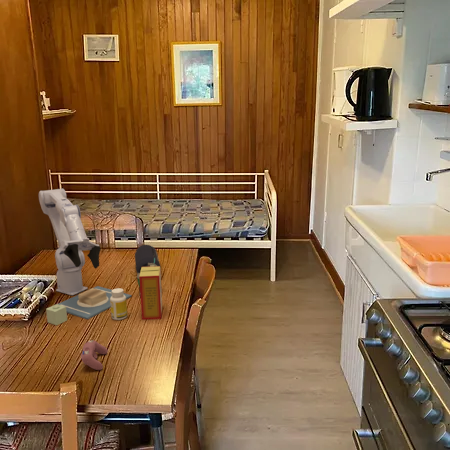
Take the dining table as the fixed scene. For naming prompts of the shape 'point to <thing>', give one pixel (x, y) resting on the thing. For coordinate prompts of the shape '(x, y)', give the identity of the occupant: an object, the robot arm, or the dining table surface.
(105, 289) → the board
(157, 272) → the baking soda box
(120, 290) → the supplement bottle
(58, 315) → the sage block
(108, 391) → the dining table surface
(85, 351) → the video game controller
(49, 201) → the robot arm
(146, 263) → the portable speaker
